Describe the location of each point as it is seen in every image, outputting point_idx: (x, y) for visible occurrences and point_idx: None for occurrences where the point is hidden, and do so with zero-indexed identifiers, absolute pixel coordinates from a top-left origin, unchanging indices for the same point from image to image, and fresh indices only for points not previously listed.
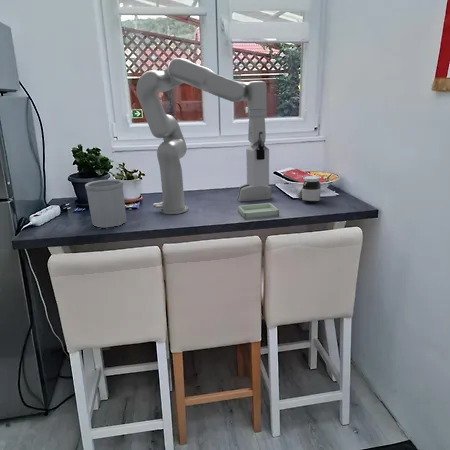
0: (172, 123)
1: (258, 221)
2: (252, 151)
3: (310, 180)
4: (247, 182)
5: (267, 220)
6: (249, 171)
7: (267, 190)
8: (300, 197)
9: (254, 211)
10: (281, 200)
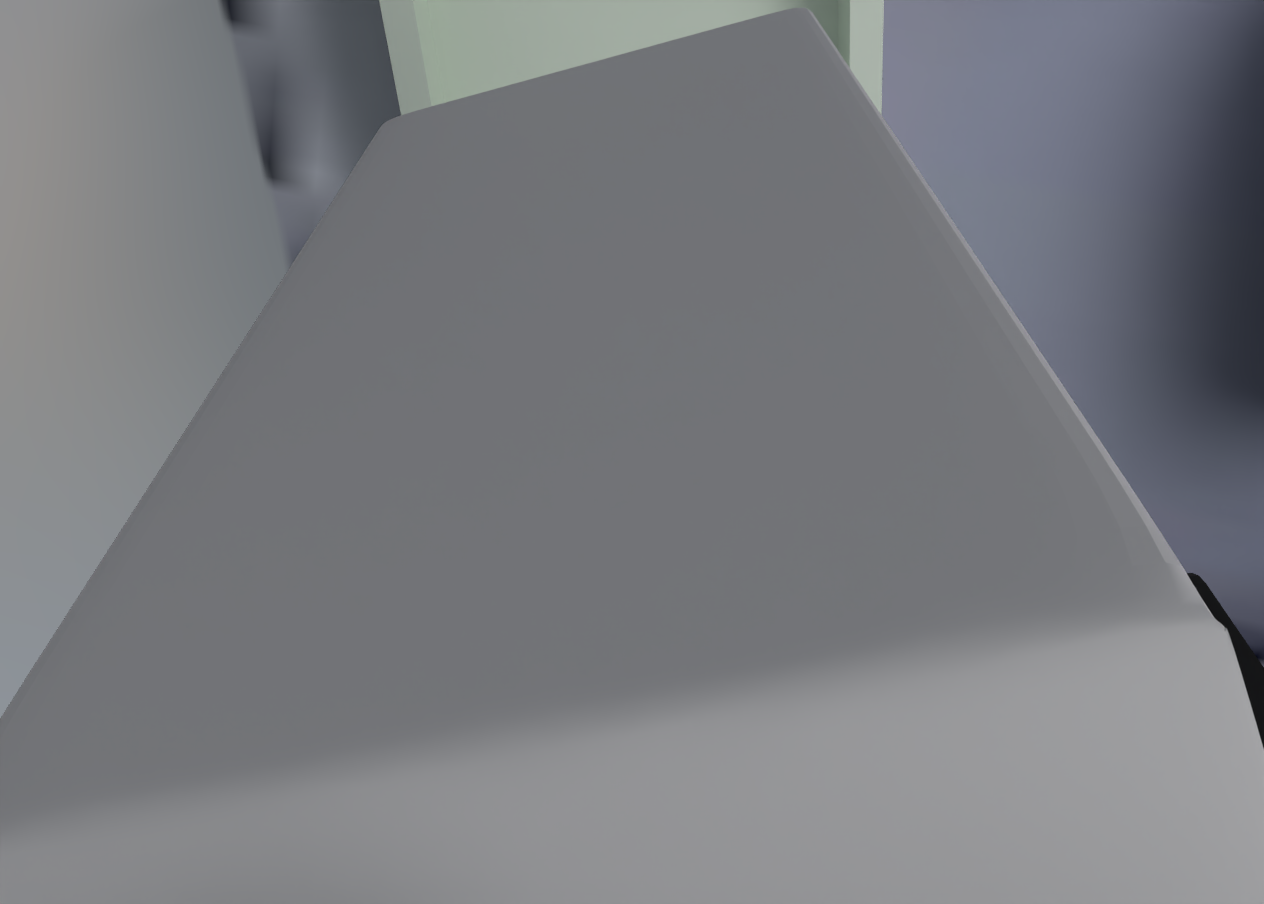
0: None
1: (229, 3)
2: (52, 798)
3: None
4: (768, 22)
5: (270, 150)
6: (619, 166)
7: None
8: None
9: (689, 30)
10: (1176, 531)
